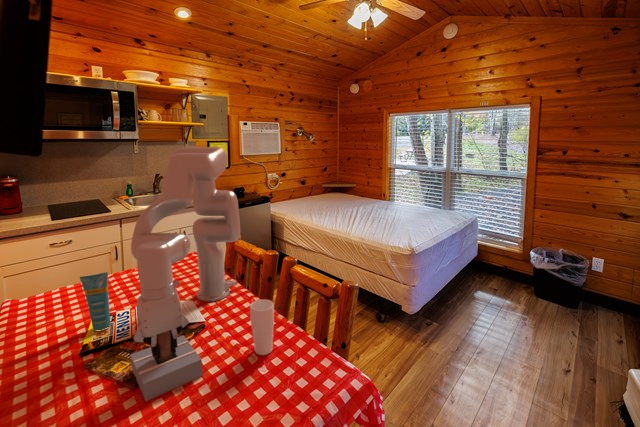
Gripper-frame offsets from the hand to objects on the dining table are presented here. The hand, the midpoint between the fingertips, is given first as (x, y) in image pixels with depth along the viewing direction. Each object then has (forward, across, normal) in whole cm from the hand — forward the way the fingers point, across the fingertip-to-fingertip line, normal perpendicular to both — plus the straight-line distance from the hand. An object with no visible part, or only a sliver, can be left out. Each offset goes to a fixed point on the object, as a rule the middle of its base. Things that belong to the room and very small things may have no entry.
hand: (165, 352), depth 89 cm
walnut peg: (+4, 0, 0) cm, 4 cm away
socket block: (+6, 0, 0) cm, 6 cm away
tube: (+6, +10, -36) cm, 38 cm away
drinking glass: (+6, -25, +8) cm, 27 cm away
